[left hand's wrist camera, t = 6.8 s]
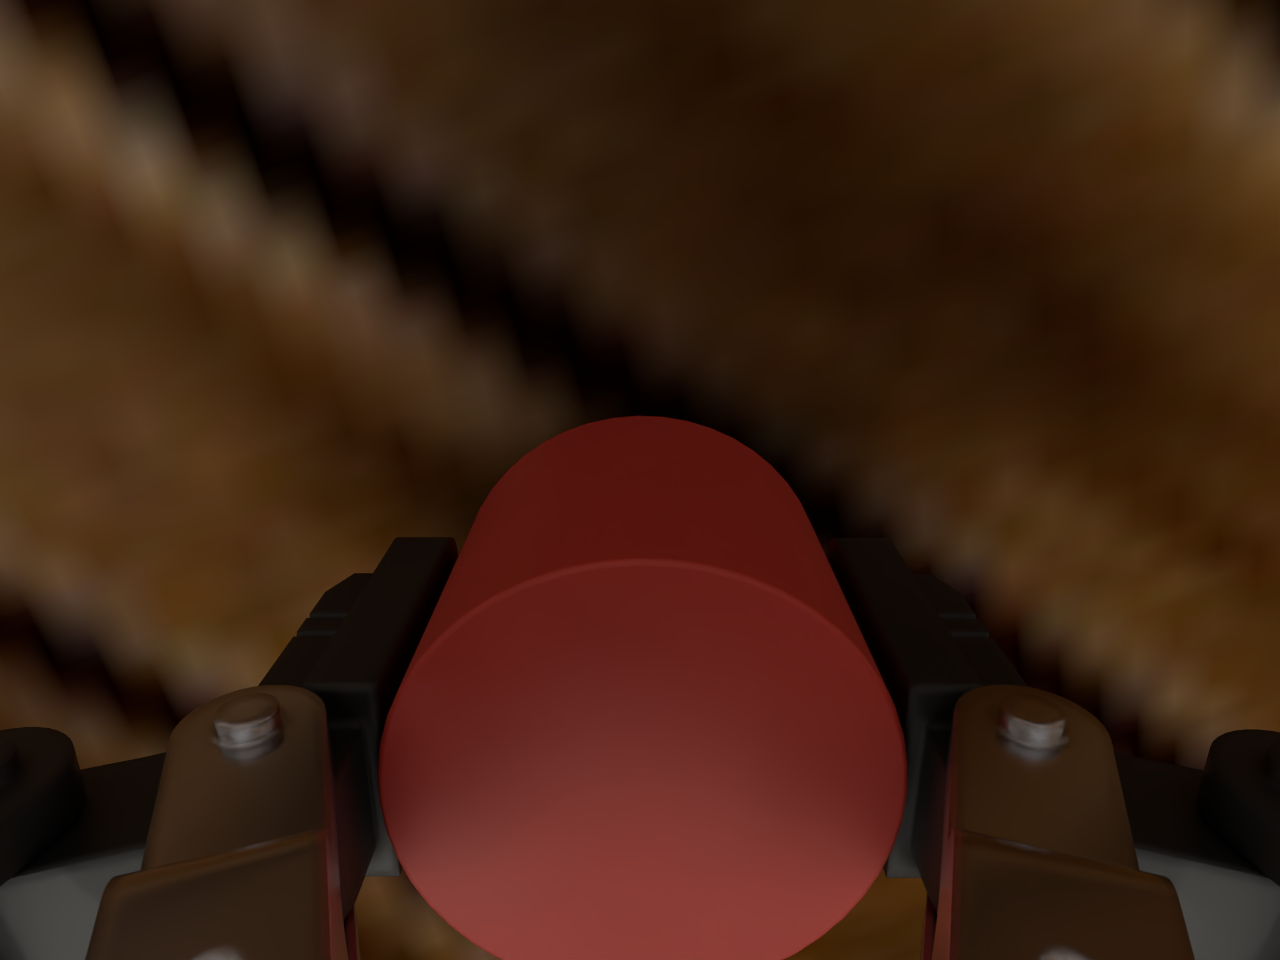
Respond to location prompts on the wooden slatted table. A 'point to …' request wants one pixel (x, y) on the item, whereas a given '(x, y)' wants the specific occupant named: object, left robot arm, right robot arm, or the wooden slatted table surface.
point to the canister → (642, 713)
